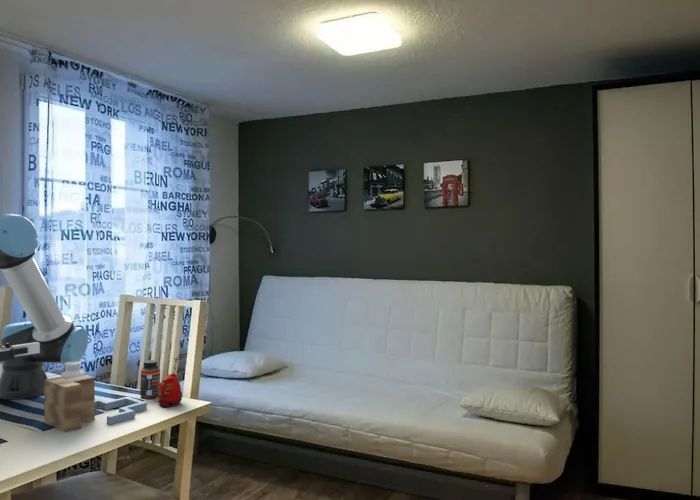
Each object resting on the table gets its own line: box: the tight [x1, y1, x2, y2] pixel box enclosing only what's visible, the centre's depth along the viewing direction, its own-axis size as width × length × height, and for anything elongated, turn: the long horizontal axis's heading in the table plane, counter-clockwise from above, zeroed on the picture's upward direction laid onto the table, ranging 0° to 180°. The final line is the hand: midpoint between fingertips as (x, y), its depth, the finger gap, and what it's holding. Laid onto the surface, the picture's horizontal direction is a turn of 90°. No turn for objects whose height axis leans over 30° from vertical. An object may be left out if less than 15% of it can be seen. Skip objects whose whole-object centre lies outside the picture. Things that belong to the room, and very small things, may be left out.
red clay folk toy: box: [157, 354, 183, 408], centre depth 175 cm, size 8×7×15 cm
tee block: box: [43, 374, 96, 433], centre depth 157 cm, size 12×10×12 cm
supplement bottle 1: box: [60, 360, 86, 379], centre depth 173 cm, size 7×7×13 cm
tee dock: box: [95, 395, 148, 425], centre depth 167 cm, size 18×14×2 cm
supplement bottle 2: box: [139, 359, 161, 399], centre depth 183 cm, size 6×6×11 cm
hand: (38, 347), depth 151 cm, fingers closed
